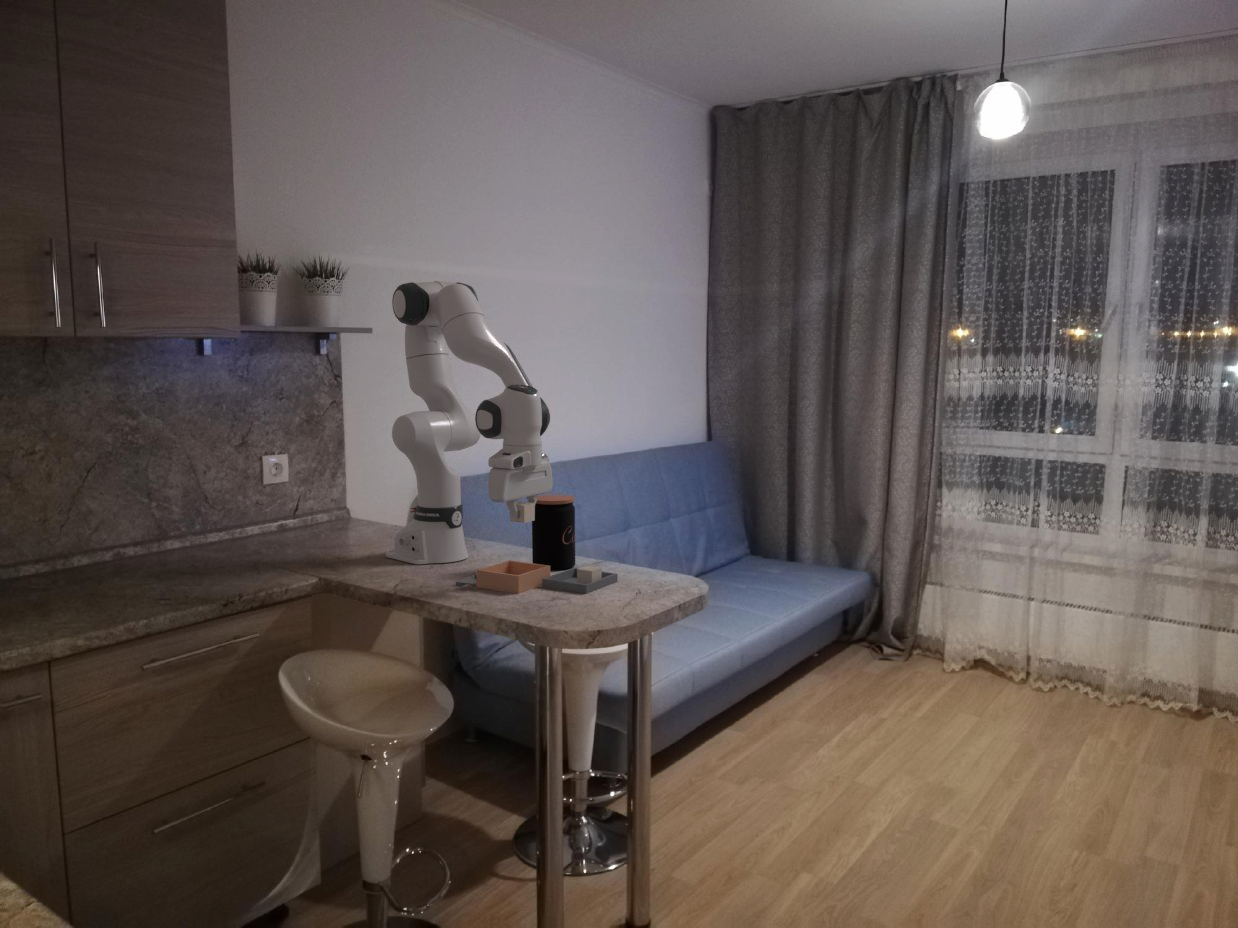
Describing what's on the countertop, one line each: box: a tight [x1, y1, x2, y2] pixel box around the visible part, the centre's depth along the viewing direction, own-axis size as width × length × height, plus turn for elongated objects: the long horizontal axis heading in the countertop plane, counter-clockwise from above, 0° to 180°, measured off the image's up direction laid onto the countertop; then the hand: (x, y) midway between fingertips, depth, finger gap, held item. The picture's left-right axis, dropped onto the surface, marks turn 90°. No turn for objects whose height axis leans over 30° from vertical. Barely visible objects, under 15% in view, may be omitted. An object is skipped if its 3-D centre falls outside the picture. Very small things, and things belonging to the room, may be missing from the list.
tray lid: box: [455, 573, 477, 587], centre depth 216 cm, size 7×10×2 cm
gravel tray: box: [541, 567, 618, 595], centre depth 211 cm, size 12×13×2 cm
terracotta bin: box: [475, 559, 551, 595], centre depth 211 cm, size 12×12×4 cm
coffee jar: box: [531, 494, 576, 572], centre depth 229 cm, size 11×11×18 cm
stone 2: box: [577, 565, 603, 584], centre depth 210 cm, size 4×4×4 cm
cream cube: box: [509, 501, 535, 524], centre depth 211 cm, size 4×4×4 cm
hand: (522, 516), depth 211 cm, fingers closed on cream cube, 4 cm apart
